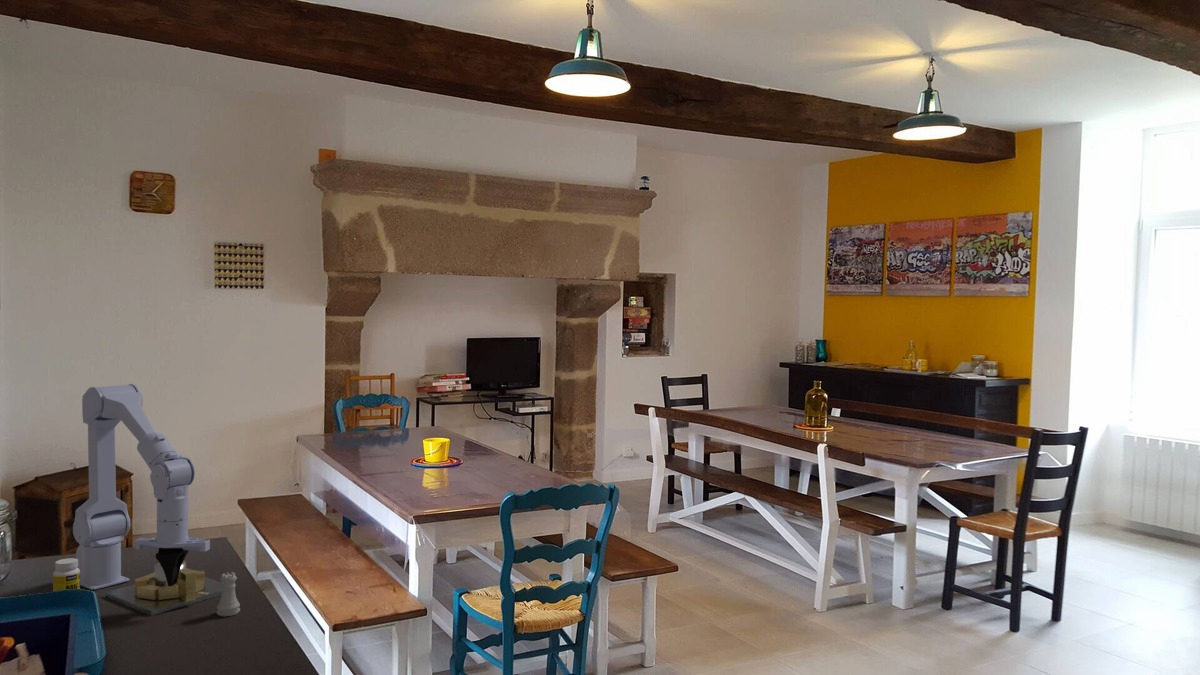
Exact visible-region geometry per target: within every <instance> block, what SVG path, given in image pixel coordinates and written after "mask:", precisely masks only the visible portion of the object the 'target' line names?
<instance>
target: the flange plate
mask: <svg viewBox="0 0 1200 675" xmlns="http://www.w3.org/2000/svg"><path fill="white" fill-rule="evenodd" d="M186 568H187V562H186V560H184V561H183V563H182V565H181V568H180V570H181V569H186ZM154 573H155V586H160V587H163V586H166V583H167V579H166V576H165V573H164V571H163V568H162V566H161V565H160V563H159V562H156V563H155V564H154ZM176 584H177V585H178V581H177V583H176ZM221 586H222V582H221V581H218V580H216V579H213V578H209V577H207V576H205V588H204V589H202V590H200V591H198V592H196V600H193V601H188V602H185V601H183V600H182V599H180V598H170V599H162V600H159V598H158V599H156V600H151V599H145V598H139V597H137V596H135V583H133V584H131V585H127V586H123V587H120V588H115V589H111V590H107V591H105V592H104V595H105V596H107V597H110V598H112V599H114V600H116V601H115V602H117V601H118V602H117V603H119V602H120V603H119V604H122V603H123V604H122V605H124V604H125V605H124V606H126V605H127V607H129V606H130V607H129V608H131V607H132V609H133V608H134V610H136V611H139V612H141V613H143V614H145V613H146V615H149V616H150V617H152V616H156V615H159V614H162V613H167V612H168V611H169V612H170V611H172V610H176V609H180V608H183V607H186V606H191V605H193V604H196V602H197V603H199V602H202V601H203V600H204V601H206V599H207V600H210V598H211V599H213V597H214V598H218V597H221V595H222V588H221ZM107 597H106V598H107ZM110 598H109V599H110ZM112 599H111V600H112ZM114 600H113V601H114ZM204 601H203V602H204ZM192 603H193V604H192Z"/></svg>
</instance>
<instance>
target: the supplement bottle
mask: <svg viewBox="0 0 1200 675" xmlns="http://www.w3.org/2000/svg"><path fill="white" fill-rule="evenodd" d="M54 564H55V566H54V569H55V570H54V571H53V573H52V592H53V591H57V590H64V589H80V590H81V585H80V570H79V568H77V567H78V559H76V557H75V558H74V557H73V558H70V557H69V558H61V559H59V560H56V561H55V562H54Z"/></svg>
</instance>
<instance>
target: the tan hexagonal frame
mask: <svg viewBox="0 0 1200 675" xmlns="http://www.w3.org/2000/svg"><path fill="white" fill-rule="evenodd" d="M205 577H206V573H205V570H195V569H190V568H188V567H186V569H181V570H180V571H179V574H178V579H177V581H178V585H177V584H175V585H173V586H168V583H166V586H163V587H160V586H155V572H152V573H149V574H146V575H144V576H141V577H137V578H134V584H135V596H137V597H139V598H145V599H151V600H156V599H158V598H159V600H162V599H170V598H180V599H182V600H183V601H185V602H188V601H193V600H196V592H198V591H200V590H202V589H204V588H205Z"/></svg>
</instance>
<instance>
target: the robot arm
mask: <svg viewBox="0 0 1200 675" xmlns="http://www.w3.org/2000/svg"><path fill="white" fill-rule="evenodd" d="M81 401H82V402H81V404H82V405H81V406H82V408H81V410H82V413H81V414H82V423H83V424H86V425H87V447H88V448H87V449H88V451H87V453H88V498H87V500H86V501H85V502H84V503H83V504H81V505H80V506H78V508H76V509H75V516H74V522H73V524H72V533H73V534H72V535H73V538H74V539H75V541H76V542H77V543H78V544H79V546H78V547H77V548H76V551H75V559H78V567H77V568H79V570H80V587H83V588H86V589H89V590H90V591H94V590H98V589H99V590H100V589H103V588H106V587H111V586H115V585H118V584H122V583H127V582H129V581H130V578H129V577H127V576H123V575H122V541H124V540H125V536H127V535H128V533H129V531H130V528H131V518H130V515H129V512H128V504H127V503H126V502H125V501H122V500H121V499H119V498H118V497H117V484H116V483H117V479H116V478H117V477H116V475H117V473H116V468H117V467H116V426H118V425H119V423H120V422H122V423H123V424H124V426H125V427H126V428H127V429H128V431H130V433H131V434H132V435H133V436H134V437H135V439H136V440H137V441H138V444H137V445H136V446H137V447H136V449H137V452H138V453H139V456H141V458H142V459H143V460H144V462H145V464H146V465H147V467H148V468H149V470H150V475H149V478H150V483H151V485H152V487H153V495H154V499H155V498H156V536H153V537H139V538H137V539H135V540H134V550H135V551H136V550H138V551H139V550H143V549H144V550H157V553H156V554H155V559H156V561H157V562H158V563H160V565H161V566H162V568H163V571H164V573H165V576H166V579H167V583H168V586H173V585H175V584H176V583H177V579H178V574H179V571H180V568H181V565H182V563H183V561H185V559H186V556H187V555H188V553H189V551H198V552H199V551H200V552H203V553H205V552H207V551H209V550H210V549H211V540H210V539H201V538H197V537H195V538H194V537H191V536H189V486H190V485H192V483H193V482H194V480H195V474H196V473H195V471H196V470H195V466H194V465H193V462H192V460H191V459H190V458H189V457H188V456H183V455H182V454H178V453H177V451H176V450H175V448H174V447H173V446H172V443H170V440H168V438H167V436H166V435H165V434H164V433H163V432H156V431H155V429H154V427H153V425H152V423H151V421H150V420H149V418H148V416H147V414H146V413H145V411H144V409H143V405H144V395H143V394H142V392H141V389H140V388H139V386H138V385H137V384H134V383H129V384H126V385H125V384H121V385H112V386H100V387H99V386H98V387H96V386H90V387H89V388H88V389H86V391H85V393H84V394H82V399H81ZM93 589H94V590H93Z"/></svg>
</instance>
